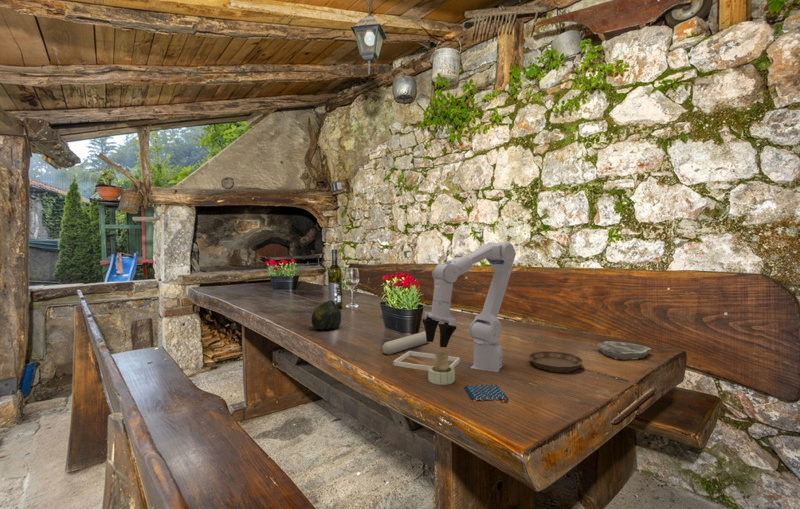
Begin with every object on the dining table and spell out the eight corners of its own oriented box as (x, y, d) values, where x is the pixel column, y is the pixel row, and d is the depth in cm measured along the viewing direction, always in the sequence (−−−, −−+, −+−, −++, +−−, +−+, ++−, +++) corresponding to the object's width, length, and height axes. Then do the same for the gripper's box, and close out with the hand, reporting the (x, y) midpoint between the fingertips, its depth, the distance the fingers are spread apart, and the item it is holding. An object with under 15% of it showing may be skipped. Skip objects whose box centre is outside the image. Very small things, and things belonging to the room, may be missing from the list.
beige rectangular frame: (460, 363, 139) (460, 357, 139) (447, 375, 127) (447, 369, 127) (409, 356, 148) (409, 350, 148) (392, 366, 135) (392, 361, 135)
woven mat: (510, 404, 106) (510, 397, 105) (472, 406, 105) (472, 398, 105) (497, 390, 116) (497, 383, 116) (462, 391, 115) (462, 384, 115)
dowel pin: (449, 378, 122) (449, 353, 122) (445, 382, 119) (445, 357, 118) (437, 376, 124) (437, 351, 124) (433, 380, 120) (433, 355, 120)
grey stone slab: (616, 346, 163) (616, 339, 163) (658, 357, 148) (658, 349, 147) (584, 352, 154) (584, 344, 154) (625, 364, 139) (625, 356, 139)
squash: (301, 318, 193) (316, 297, 187) (323, 314, 205) (337, 295, 199) (316, 340, 187) (331, 319, 181) (337, 335, 199) (352, 315, 193)
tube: (390, 347, 147) (432, 334, 165) (381, 340, 150) (422, 328, 169) (387, 359, 148) (428, 345, 166) (378, 352, 152) (420, 339, 170)
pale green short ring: (457, 379, 123) (457, 367, 123) (449, 388, 116) (449, 374, 116) (433, 375, 127) (433, 363, 126) (424, 383, 119) (424, 371, 119)
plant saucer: (527, 371, 132) (527, 362, 132) (530, 356, 148) (530, 348, 148) (584, 378, 125) (584, 368, 125) (580, 361, 142) (581, 353, 142)
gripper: (419, 297, 128) (413, 339, 127) (444, 303, 115) (439, 349, 114) (436, 299, 131) (431, 339, 130) (463, 305, 118) (458, 349, 118)
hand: (436, 344), depth 123 cm, fingers open, 7 cm apart
